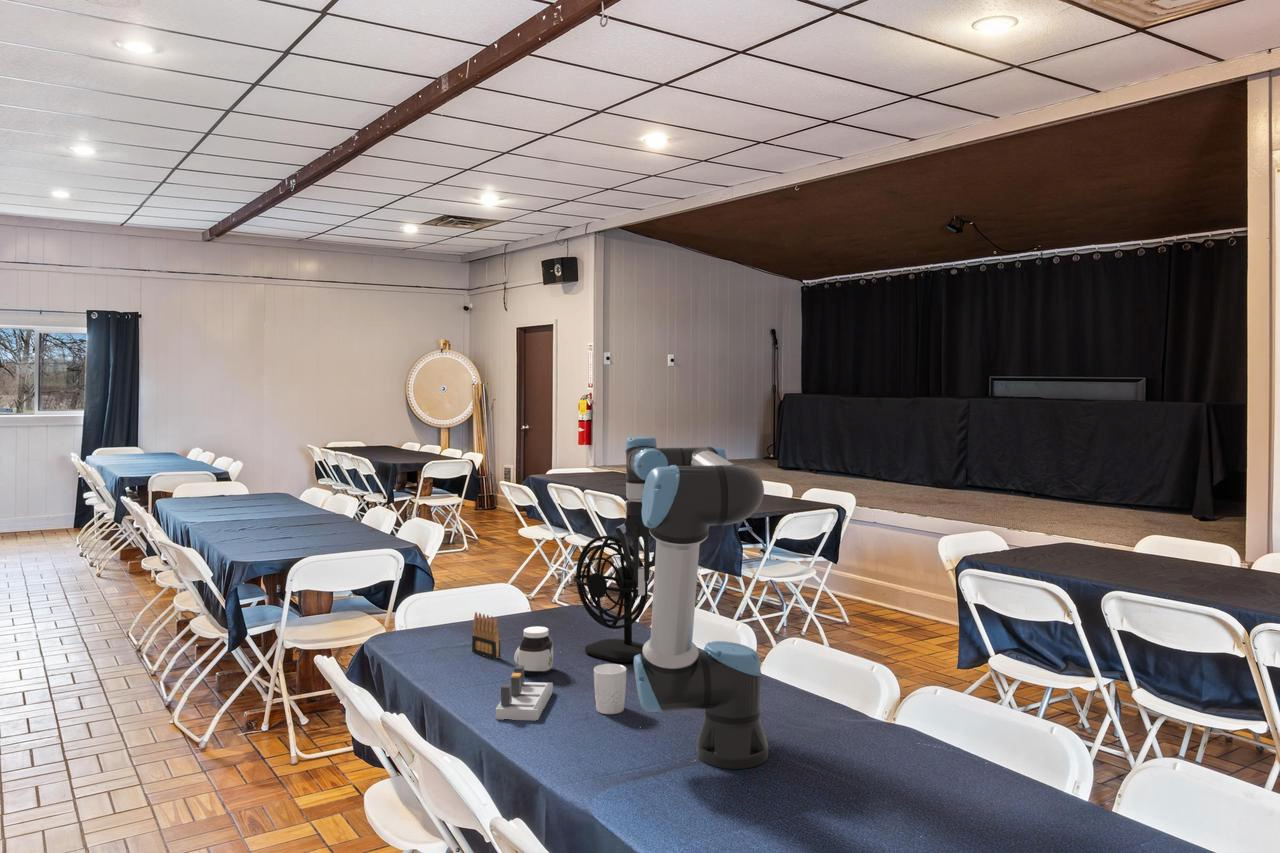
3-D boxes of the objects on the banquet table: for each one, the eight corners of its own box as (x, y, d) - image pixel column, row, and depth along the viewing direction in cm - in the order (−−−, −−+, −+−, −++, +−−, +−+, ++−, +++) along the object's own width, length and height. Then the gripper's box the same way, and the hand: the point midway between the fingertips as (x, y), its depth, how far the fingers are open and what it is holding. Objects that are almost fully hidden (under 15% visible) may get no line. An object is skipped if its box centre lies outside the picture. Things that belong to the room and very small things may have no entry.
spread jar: (540, 679, 240) (540, 636, 239) (503, 674, 244) (502, 632, 243) (560, 665, 251) (559, 624, 251) (523, 661, 255) (523, 620, 255)
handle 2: (522, 685, 226) (522, 668, 226) (514, 685, 226) (514, 668, 226) (524, 682, 229) (524, 665, 228) (516, 682, 229) (516, 665, 228)
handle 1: (509, 705, 212) (509, 687, 212) (501, 705, 212) (500, 687, 212) (511, 702, 215) (511, 684, 214) (503, 702, 215) (503, 683, 215)
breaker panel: (537, 720, 210) (537, 709, 210) (495, 719, 211) (495, 708, 211) (552, 692, 229) (552, 682, 229) (514, 691, 230) (513, 681, 230)
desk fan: (562, 652, 264) (561, 533, 262) (603, 639, 277) (602, 526, 275) (632, 671, 246) (632, 544, 245) (672, 656, 260) (672, 535, 258)
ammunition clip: (500, 658, 258) (500, 616, 257) (495, 659, 257) (495, 618, 256) (476, 651, 265) (476, 610, 265) (471, 652, 264) (471, 611, 263)
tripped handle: (519, 695, 219) (519, 676, 219) (511, 695, 219) (511, 676, 219) (521, 692, 222) (521, 673, 221) (513, 692, 222) (513, 672, 221)
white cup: (622, 716, 213) (622, 675, 212) (590, 714, 214) (589, 672, 214) (629, 705, 221) (629, 664, 220) (598, 702, 222) (598, 662, 222)
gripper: (668, 497, 226) (668, 591, 227) (616, 497, 227) (617, 590, 228) (666, 501, 218) (667, 598, 219) (613, 501, 219) (613, 597, 220)
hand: (641, 593), depth 224 cm, fingers closed
